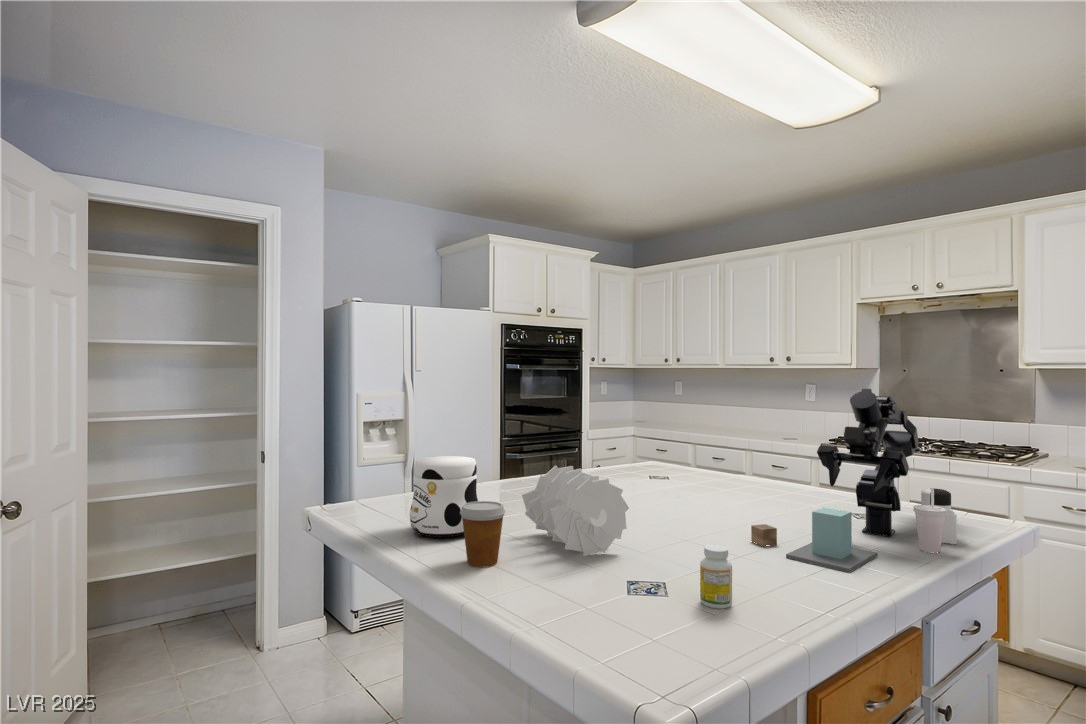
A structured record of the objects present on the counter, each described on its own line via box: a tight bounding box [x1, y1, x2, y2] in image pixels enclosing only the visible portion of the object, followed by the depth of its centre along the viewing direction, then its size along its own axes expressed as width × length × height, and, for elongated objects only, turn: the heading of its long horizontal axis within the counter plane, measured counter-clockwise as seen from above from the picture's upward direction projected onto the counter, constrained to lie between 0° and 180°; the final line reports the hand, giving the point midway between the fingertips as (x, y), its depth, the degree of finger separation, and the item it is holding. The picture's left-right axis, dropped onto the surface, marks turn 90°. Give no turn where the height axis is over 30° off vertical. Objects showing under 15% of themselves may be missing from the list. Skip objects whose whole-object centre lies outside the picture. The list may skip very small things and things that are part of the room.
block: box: [750, 524, 778, 547], centre depth 141 cm, size 4×4×4 cm
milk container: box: [409, 455, 479, 538], centre depth 150 cm, size 17×17×18 cm
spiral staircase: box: [521, 465, 630, 557], centre depth 140 cm, size 18×18×25 cm
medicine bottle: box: [916, 487, 958, 545], centre depth 145 cm, size 7×7×12 cm
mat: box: [785, 542, 878, 573], centre depth 131 cm, size 16×13×1 cm
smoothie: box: [912, 489, 947, 554], centre depth 135 cm, size 6×6×14 cm
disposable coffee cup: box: [460, 500, 506, 568], centre depth 126 cm, size 10×10×12 cm
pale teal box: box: [811, 507, 853, 559], centre depth 131 cm, size 6×6×9 cm
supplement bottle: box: [699, 544, 733, 610], centre depth 104 cm, size 5×5×10 cm
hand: (851, 488), depth 138 cm, fingers open, 9 cm apart
